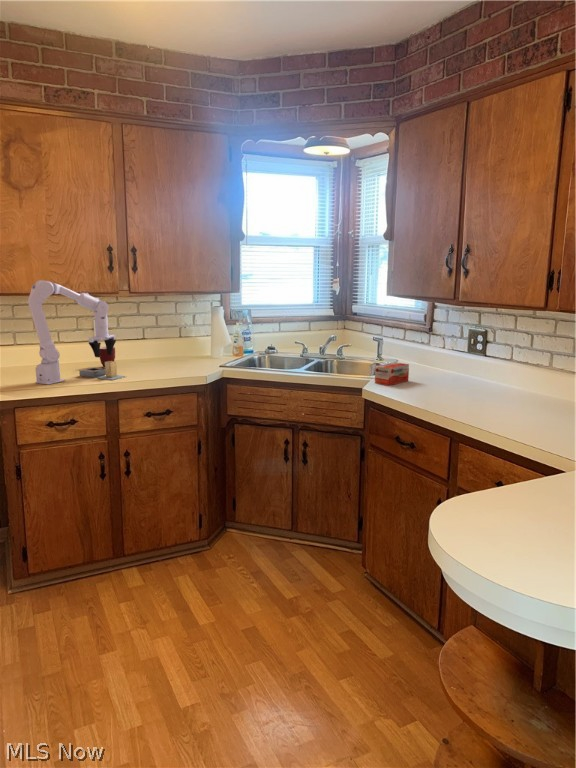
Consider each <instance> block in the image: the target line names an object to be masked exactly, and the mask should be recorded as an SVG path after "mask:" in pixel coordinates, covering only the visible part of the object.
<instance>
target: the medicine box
mask: <svg viewBox="0 0 576 768" xmlns="http://www.w3.org/2000/svg"><path fill="white" fill-rule="evenodd" d="M374 370H375V371H374V384H379V385H384V386H392V385H397V384H402V383H405V382H409V378H410V377H409V375H410V373H409V371H410V364H409V363H401V362H396V361H393V362H389V363H384V364H378V365H375V369H374Z"/></svg>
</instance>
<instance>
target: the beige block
mask: <svg viewBox="0 0 576 768" xmlns="http://www.w3.org/2000/svg"><path fill="white" fill-rule="evenodd" d="M117 371H118V370H117V361H115V360H114V361H108V362H105V373H106V377H108V378H113V377H117V375H118V372H117Z"/></svg>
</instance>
